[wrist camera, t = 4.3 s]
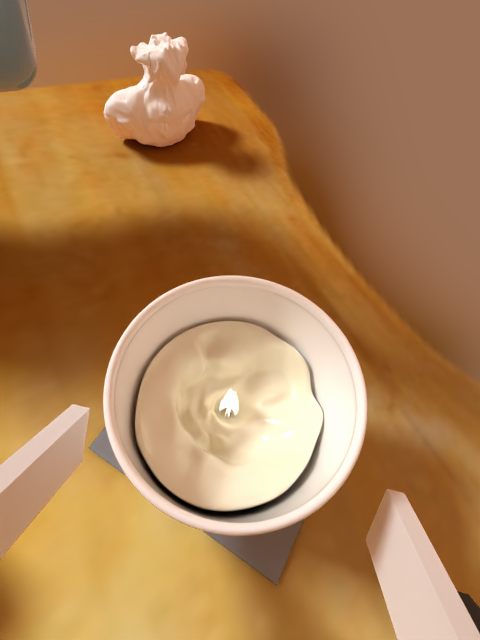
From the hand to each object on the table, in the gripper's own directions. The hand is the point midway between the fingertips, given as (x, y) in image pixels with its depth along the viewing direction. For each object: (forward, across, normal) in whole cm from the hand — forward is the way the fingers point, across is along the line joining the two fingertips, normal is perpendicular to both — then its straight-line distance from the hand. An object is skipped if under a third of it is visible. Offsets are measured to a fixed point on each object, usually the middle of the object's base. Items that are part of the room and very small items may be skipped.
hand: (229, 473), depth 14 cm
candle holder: (+8, -1, -4) cm, 9 cm away
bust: (+30, -16, +18) cm, 38 cm away
